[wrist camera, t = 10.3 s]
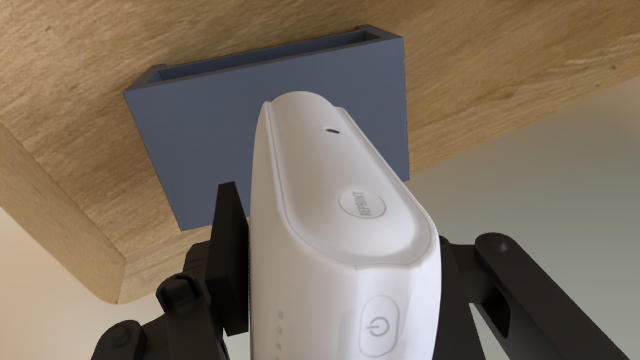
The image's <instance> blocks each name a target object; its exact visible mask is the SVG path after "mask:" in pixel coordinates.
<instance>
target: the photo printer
mask: <svg viewBox="0 0 640 360" xmlns="http://www.w3.org/2000/svg"><path fill="white" fill-rule="evenodd" d="M440 297H441V256H440V243H439V236H438V233H437V229H436V226H435V224H434V222H433V221H432V219H431V218H430V216H429V215H428V213H427V212H426V211H425V209H424V208H423V207H422V206H421V205H420V204H419V202H418V201H417V200H416V199H415V197H414V196H413V195H412V194H411V192H410V191H409V190H408V189H407V187H406V186H405V185H404V184H403V183H402V181H401V180H400V178H399V177H398V176H397V175H396V173H395V172H394V171H393V170H392V169H391V167H390V166H389V165H388V164H387V162H386V161H385V160H384V159H383V157H382V156H381V155H380V154H379V152H378V151H377V150H376V149H375V147H374V146H373V145H372V144H371V142H370V141H369V140H368V138H367V137H366V136H365V135H364V133H363V132H362V131H361V130H360V128H359V127H358V126H357V124H356V123H355V122H354V120H353V119H352V118H351V117H350V115H349V114H348V113H347V112H346V111H345V110H344V109H343V108H342V107H334V106H333V105H332V104H331V103H330V102H329V101H327V100H326V99H325V98H323V97H321V96H320V95H317V94H315V93H312V92H306V91H294V92H289V93H286V94H283V95H281V96H279V97H277V98H275V99H274V100H273V101H272V102H267V101H265V102H264V103H263V105H262V108H261V111H260V115H259V119H258V123H257V128H256V134H255V143H254V154H253V167H252V183H251V201H250V230H249V310H250V353H251V354H250V356H251V360H432V356H433V351H434V345H435V339H436V332H437V326H438V317H439V307H440Z"/></svg>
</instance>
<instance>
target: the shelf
mask: <svg viewBox="0 0 640 360" xmlns="http://www.w3.org/2000/svg"><path fill="white" fill-rule="evenodd" d="M356 28H357V30H354V31H349V32H344V33H339V34H334V35H328V36H323V37H318V38H313V39H308V40H303V41H297V42H292V43H287V44H282V45H277V46H272V47H266V48H261V49H256V50H251V51H246V52H241V53H235V54H230V55H225V56H220V57H215V58H210V59H204V60H199V61H194V62H189V63H184V64H179V65H174V66H168V67H166V65H165V64H160V65H154V66H152V67H150V68H149V69H148V70H147V71H146V72H145V73H144V74H143V75H141V76H140V77H139V78H138V79H137V80H136V81H135V82H134V83H132V84H131V85H130V86H129V87H128V88H127V89H126V90H124V91H123V95H124V98H125V100H126V102H127V105H128V107H129V109H130V112H131V114H132V116H133V119H134V121H135V124H136V126H137V128H138V131H139V133H140V135H141V138H142V140H143V142H144V145H145V147H146V150H147V152H148V154H149V157H150V159H151V161H152V164H153V166H154V169H155V171H156V173H157V176H158V178H159V180H160V183H161V185H162V187H163V190H164V192H165V195H166V197H167V199H168V202H169V204H170V206H171V209H172V211H173V213H174V216H175V218H176V221H177V223H178V225H179V228H180V230H181V231H186V230H190V229H194V228H199V227H203V226H208V225H212V224H213V218H214V212H215V205H216V198H217V192H218V185H219V184H223V183H227V182H232V181H235V184H236V188H237V191H238V194H239V197H240V200H241V204H242V207H243V210H244V213H245V216H246V217H248V216H250V201H251V183H252V167H253V154H254V143H255V134H256V128H257V123H258V119H259V115H260V111H261V108H262V105H263V103H264V102H265V101H267V102H272V101H273V100H274V99H275V98H277V97H279V96H281V95H283V94H286V93H289V92H294V91H306V92H312V93H315V94H317V95H320V96H321V97H323V98H325V99H326V100H327V101H329V102H330V103H331V104H332V105H333V106H334V107H342V108H343V109H344V110H345V111H346V112H347V113H348V114H349V115H350V117H351V118H352V119H353V120H354V122H355V123H356V124H357V126H358V127H359V128H360V130H361V131H362V132H363V133H364V135H365V136H366V137H367V138H368V140H369V141H370V142H371V144H372V145H373V146H374V147H375V149H376V150H377V151H378V152H379V154H380V155H381V156H382V157H383V159H384V160H385V161H386V162H387V164H388V165H389V166H390V167H391V169H392V170H393V171H394V172H395V173H396V175H397V176H398V177H399V178H400V180H401V181H402V182H404V181H408V180H409V179H410V177H409V155H408V133H407V111H406V89H405V67H404V45H403V37H402V36H399V35H396V34H393V33H390V32H388V31H385V30H382V29H380V28H377V27H374V26H372V25H369V24H367V25H362V26H357V27H356Z"/></svg>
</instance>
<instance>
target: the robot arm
mask: <svg viewBox="0 0 640 360" xmlns="http://www.w3.org/2000/svg"><path fill="white" fill-rule="evenodd" d="M438 236H439V243H440V256H441V297H440V307H439V317H438V326H437V332H436V339H435V345H434V351H433V356H432V360H486V359H485V355H484V352H483V349H482V346H481V343H480V339H479V336H478V333H477V329H476V326H475V323H474V320H473V316H472V313H471V310H470V307H469V303H474V305H475V307H476V308H477V310H478V311H479V313H480V314H481V316H482V317H483V319H484V320H485V322H486V324H487V325H488V326H489V328H490V330H491V331H492V333H493V334H494V336H495V337H496V339H497V340H498V342H499V343H500V345H501V346H502V348H503V350H504V351H505V353H506V354H507V356H508V357H509V359H510V360H630V359H629V358H628V357H627V356H626V355H625V354H624V353H623V352H622V351H621V350H620V349H619V348H618V347H617V346H616V345H615V344H614V343H613V342H612V341H611V340H610V339H609V338H608V337H607V335H606V334H605V333H604V332H602V330H601V329H600V328H599V327H598V326H597V325H596V324H595V323H594V322H593V321H592V320H591V319H590V318H589V317H588V316H587V315H586V314H585V313H584V312H583V311H582V310H581V309H580V308H579V307H578V306H577V304H575V302H574V301H573V300H572V299H571V298H570V297H569V296H568V295H567V294H566V293H565V292H564V291H563V290H562V289H561V288H560V287H559V286H558V285H557V284H556V283H555V282H554V281H553V280H552V279H551V278H550V277H549V276H548V275H547V274H546V272H545V271H544V270H543V269H542V268H541V267H540V266H539V265H538V264H537V263H536V262H535V261H534V260H533V259H532V258H531V257H530V256H529V255H528V254H527V253H526V252H525V251H524V250H523V249H522V248H521V247H520V246H519V245H518V244H517V243H516V241H515V240H513V239H512V238H510V237H509V236H507V235H504V234H501V233H494V232H492V233H485V234H482V235H479V236H478V237H477V238H476V240H475V245H457V244H451V243H449V241H448V240H447V239H446V238H444V237H443V236H440V235H438ZM156 297H157V299H158V301H159V303H160V305H161V307H162V308H163V310H164V312H165V313H164V314H163V315H162V316H160V317H158V318H157V319H155V320H153V321H151V322H149V323H146V324H144V325H142V326H141V325H140V324H139V323H138V322H137V321H135V320H125V321H122V322H120V323H117V324H115V325H114V326H112V327H111V328H109V329H108V330H107V331H106V332H105V333H104V334H103V335H102V336H101V338H100V339H99V341H98V343H97V345H96V348H95V350H94V353H93V356H92V358H91V360H230V358H229V355H228V351H227V348H226V345H225V343H224V340H223V327H224V330H225V332H226V334H227V336H228V337H229V336H232V335H236V334H241V333H245V332H248V326H249V324H248V323H249V319H248V318H249V317H248V316H249V313H248V311H249V226H248V223H247V220H246V216H245V213H244V210H243V207H242V204H241V200H240V197H239V194H238V191H237V188H236V184H235V181H232V182H227V183H223V184H219V185H218V192H217V198H216V205H215V212H214V218H213V225H212V231H211V238H210V240H209V241H205V242H201V243H196V244H193V245H192V247H191V248H190V249H189V251H188V252H187V254H186V258H185V264H184V267H183V271H182V272H181V273H178V274H174V275H173V276H171V277H169V278H167V279H166V280H165V281H163V282H162V283H161V284H160V286H159V287H158V288H157V291H156Z"/></svg>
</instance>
